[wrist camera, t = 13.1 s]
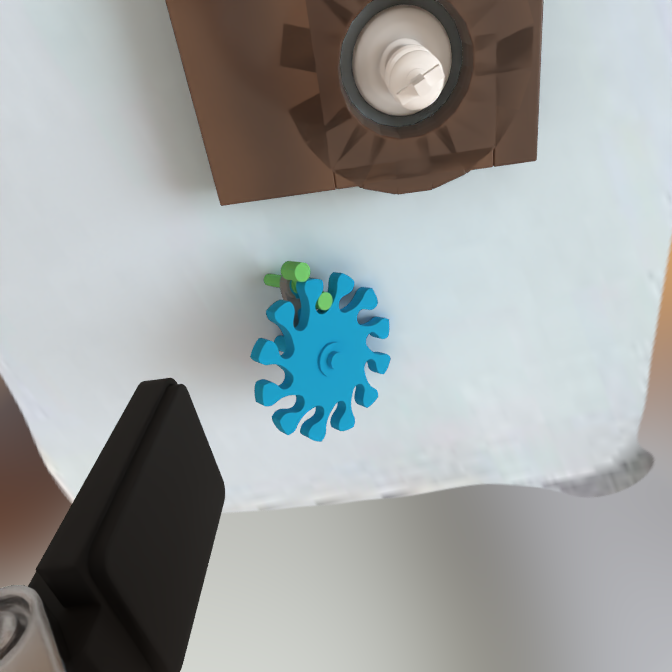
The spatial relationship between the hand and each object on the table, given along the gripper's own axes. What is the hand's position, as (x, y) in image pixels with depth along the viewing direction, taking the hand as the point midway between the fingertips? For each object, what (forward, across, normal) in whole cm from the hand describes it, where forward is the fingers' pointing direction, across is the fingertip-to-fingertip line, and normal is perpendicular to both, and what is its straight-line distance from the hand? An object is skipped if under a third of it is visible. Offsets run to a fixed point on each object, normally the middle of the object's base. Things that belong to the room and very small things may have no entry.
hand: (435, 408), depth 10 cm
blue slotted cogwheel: (+22, +5, +10) cm, 25 cm away
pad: (+22, 0, -5) cm, 23 cm away
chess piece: (+22, -2, -4) cm, 23 cm away
